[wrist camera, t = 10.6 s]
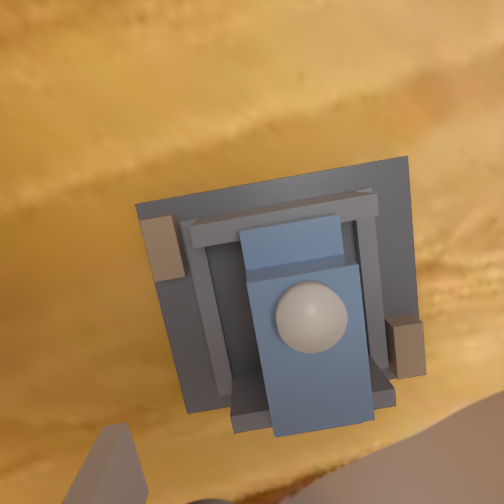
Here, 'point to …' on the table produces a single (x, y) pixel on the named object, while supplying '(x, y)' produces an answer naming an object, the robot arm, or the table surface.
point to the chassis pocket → (235, 288)
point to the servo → (308, 324)
